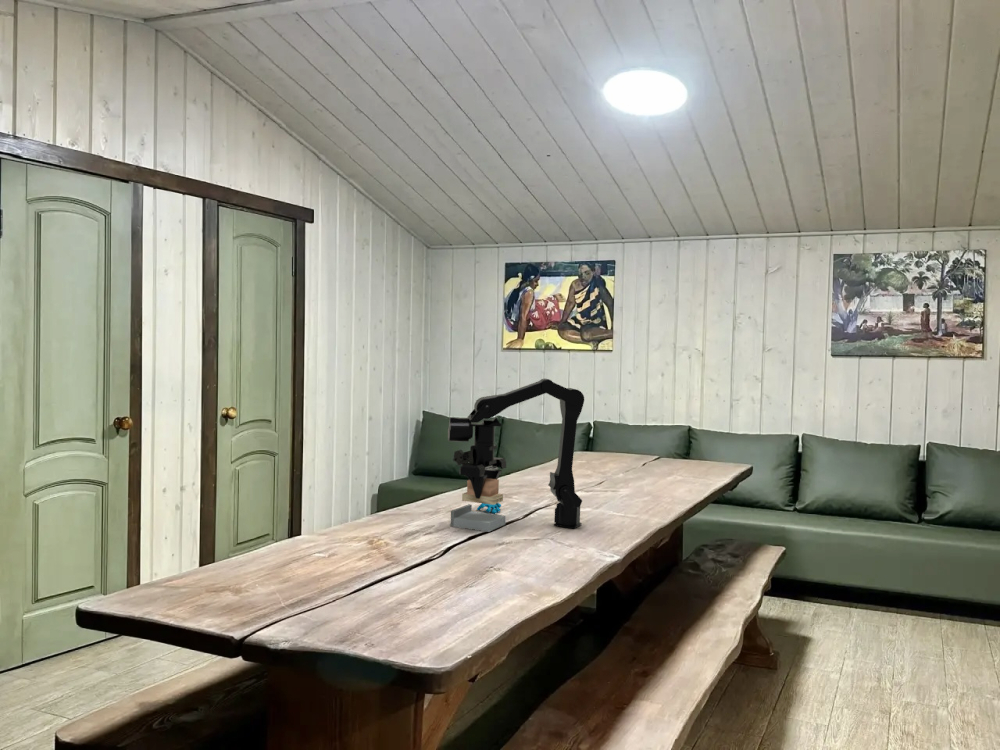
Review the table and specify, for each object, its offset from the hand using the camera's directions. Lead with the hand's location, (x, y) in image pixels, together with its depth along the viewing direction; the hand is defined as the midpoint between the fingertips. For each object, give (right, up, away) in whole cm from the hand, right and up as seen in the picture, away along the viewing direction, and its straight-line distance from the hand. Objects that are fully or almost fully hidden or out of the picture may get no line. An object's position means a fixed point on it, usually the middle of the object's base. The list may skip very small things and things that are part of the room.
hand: (482, 496), depth 226 cm
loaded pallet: (0, -1, 0) cm, 1 cm away
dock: (-1, -8, +1) cm, 8 cm away
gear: (+1, -8, +20) cm, 21 cm away
